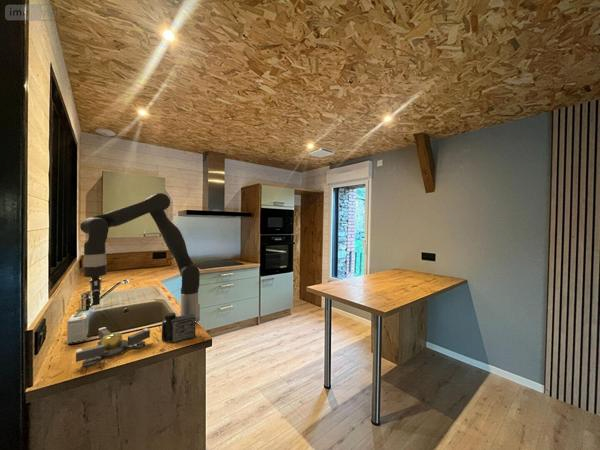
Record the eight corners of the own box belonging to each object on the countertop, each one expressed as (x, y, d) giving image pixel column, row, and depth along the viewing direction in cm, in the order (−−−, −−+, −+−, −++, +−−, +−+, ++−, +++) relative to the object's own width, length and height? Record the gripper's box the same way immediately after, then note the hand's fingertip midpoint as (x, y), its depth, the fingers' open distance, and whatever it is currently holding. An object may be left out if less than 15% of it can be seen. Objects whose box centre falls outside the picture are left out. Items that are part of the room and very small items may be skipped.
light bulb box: (71, 335, 122) (71, 314, 122) (88, 332, 126) (88, 311, 126) (66, 344, 113) (66, 321, 113) (85, 340, 117) (85, 318, 117)
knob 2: (131, 347, 108) (131, 336, 108) (127, 346, 109) (127, 335, 109) (149, 339, 116) (149, 329, 116) (146, 338, 117) (146, 328, 116)
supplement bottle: (173, 341, 116) (173, 316, 116) (158, 342, 116) (159, 316, 116) (179, 335, 123) (179, 311, 123) (165, 335, 123) (165, 311, 123)
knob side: (111, 342, 112) (111, 331, 112) (104, 344, 110) (104, 333, 110) (104, 337, 117) (105, 326, 117) (98, 339, 115) (98, 328, 115)
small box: (193, 333, 126) (193, 312, 126) (195, 338, 121) (196, 316, 121) (170, 338, 120) (170, 317, 120) (171, 343, 115) (172, 321, 115)
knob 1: (104, 354, 102) (104, 343, 102) (104, 357, 100) (104, 345, 100) (76, 362, 96) (76, 349, 96) (75, 365, 94) (75, 352, 94)
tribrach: (121, 335, 123) (121, 321, 123) (147, 345, 113) (147, 330, 113) (64, 356, 103) (64, 340, 103) (90, 370, 93) (90, 352, 93)
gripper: (83, 263, 107) (84, 300, 107) (83, 268, 96) (84, 308, 97) (105, 261, 112) (106, 296, 112) (107, 265, 101) (108, 304, 101)
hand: (96, 302), depth 104 cm, fingers open, 8 cm apart
